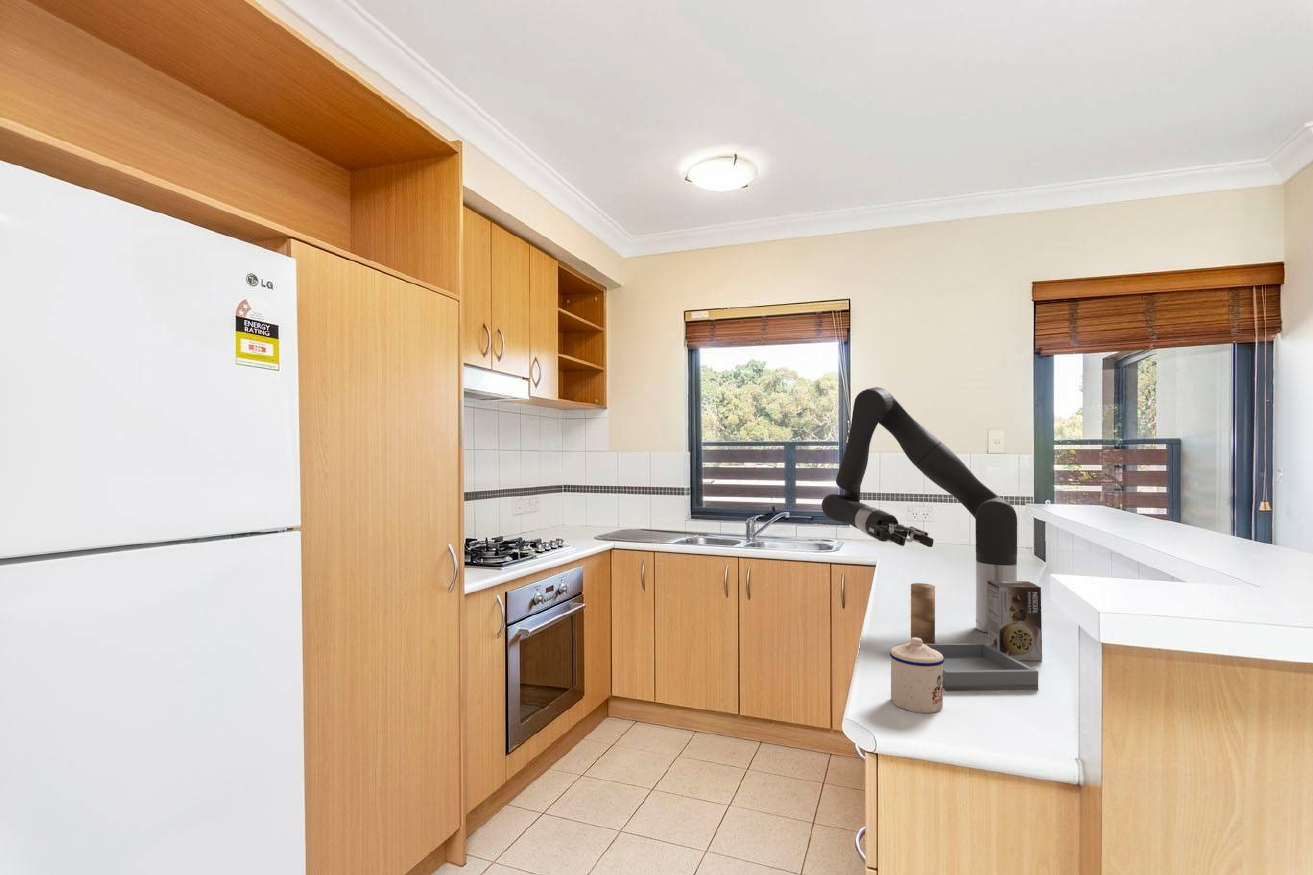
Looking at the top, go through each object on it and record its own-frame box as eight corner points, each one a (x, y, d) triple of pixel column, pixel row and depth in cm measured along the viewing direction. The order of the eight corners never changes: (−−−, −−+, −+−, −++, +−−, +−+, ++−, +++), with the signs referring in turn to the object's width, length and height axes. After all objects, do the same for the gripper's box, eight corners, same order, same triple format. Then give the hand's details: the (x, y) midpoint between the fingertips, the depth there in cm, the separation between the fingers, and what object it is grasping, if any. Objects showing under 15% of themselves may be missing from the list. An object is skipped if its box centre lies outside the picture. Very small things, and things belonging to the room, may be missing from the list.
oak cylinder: (928, 642, 153) (928, 583, 154) (939, 649, 148) (939, 587, 149) (906, 642, 153) (907, 583, 153) (917, 649, 148) (917, 587, 148)
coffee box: (1029, 652, 147) (1028, 580, 147) (1043, 661, 140) (1042, 586, 140) (986, 650, 147) (986, 579, 148) (998, 659, 141) (998, 585, 141)
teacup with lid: (945, 717, 110) (945, 648, 110) (888, 709, 113) (888, 642, 113) (942, 693, 121) (942, 630, 121) (890, 686, 124) (890, 625, 125)
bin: (984, 659, 141) (984, 643, 141) (1038, 689, 123) (1038, 671, 123) (904, 660, 140) (904, 643, 140) (946, 690, 122) (946, 672, 122)
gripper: (856, 508, 171) (897, 526, 156) (900, 511, 175) (944, 529, 160) (851, 535, 172) (891, 556, 156) (894, 537, 176) (938, 558, 161)
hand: (918, 542), depth 158 cm, fingers open, 8 cm apart
